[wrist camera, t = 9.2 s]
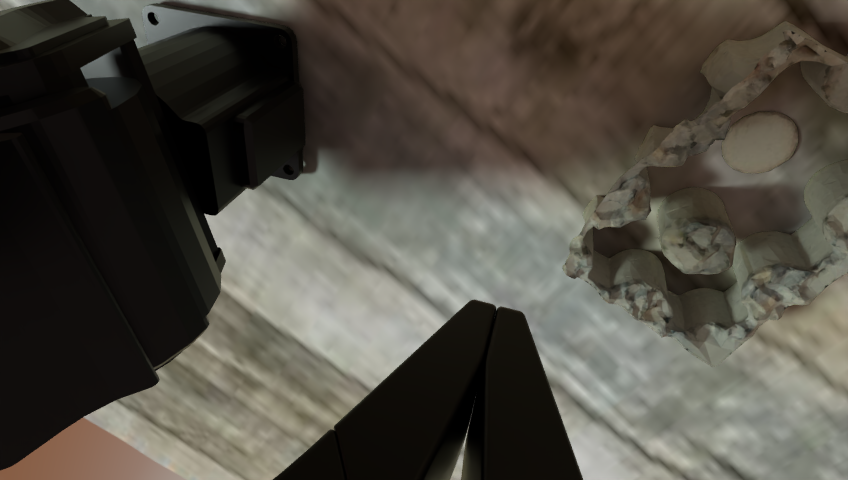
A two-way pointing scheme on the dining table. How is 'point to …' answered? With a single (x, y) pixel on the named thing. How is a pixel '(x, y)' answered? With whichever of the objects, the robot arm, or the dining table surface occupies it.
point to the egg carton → (705, 213)
